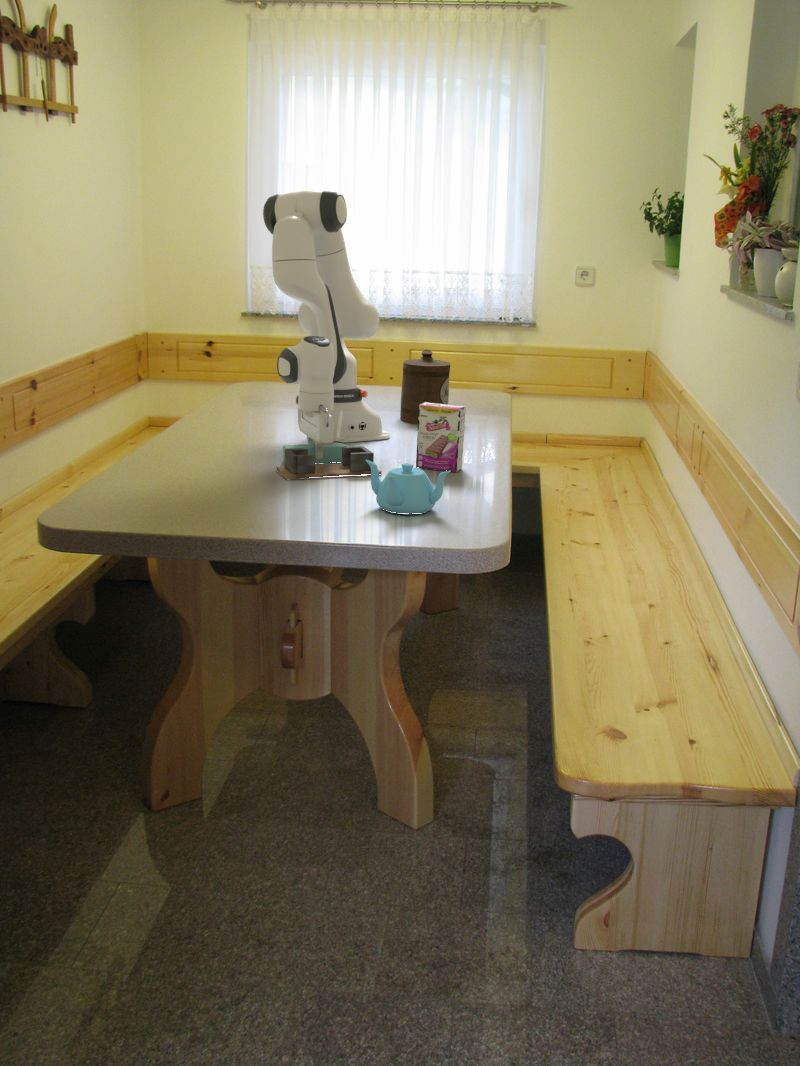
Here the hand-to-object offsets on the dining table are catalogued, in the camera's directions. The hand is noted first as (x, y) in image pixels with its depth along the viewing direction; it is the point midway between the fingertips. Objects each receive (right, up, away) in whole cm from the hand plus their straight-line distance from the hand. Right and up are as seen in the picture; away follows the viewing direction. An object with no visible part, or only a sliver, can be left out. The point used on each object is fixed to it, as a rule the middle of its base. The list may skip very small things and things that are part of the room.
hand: (315, 455), depth 283 cm
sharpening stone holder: (+4, -5, -10) cm, 12 cm away
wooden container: (+29, +15, +63) cm, 71 cm away
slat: (0, -2, +1) cm, 2 cm away
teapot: (+22, -15, -41) cm, 49 cm away
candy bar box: (+32, -4, -1) cm, 32 cm away
